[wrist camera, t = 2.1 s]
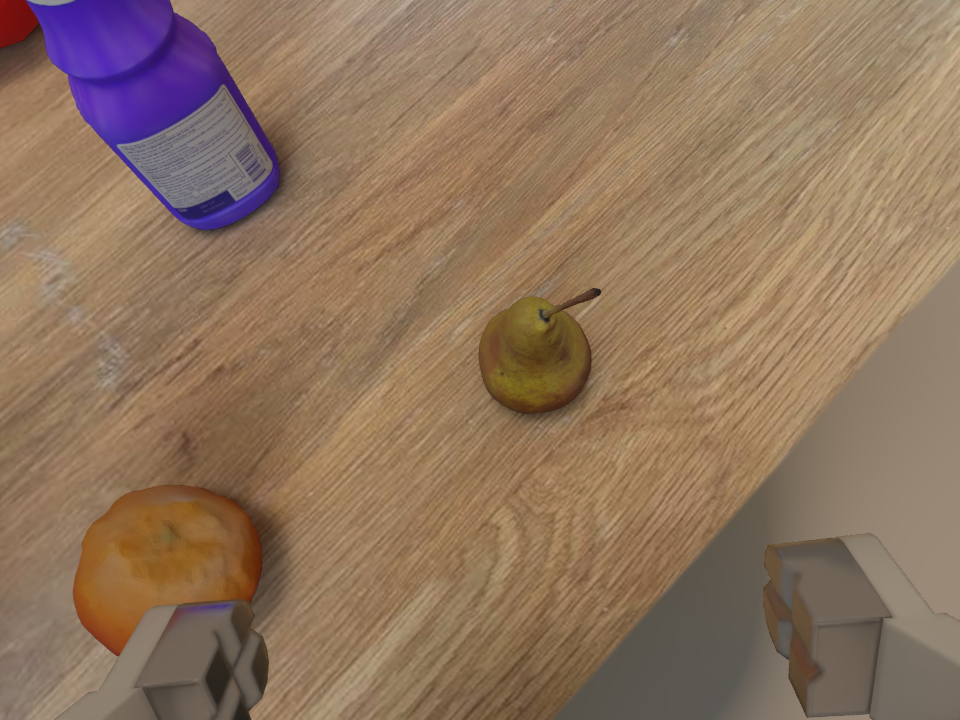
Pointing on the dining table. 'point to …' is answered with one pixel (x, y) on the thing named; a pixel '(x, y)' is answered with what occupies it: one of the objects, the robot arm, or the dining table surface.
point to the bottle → (163, 105)
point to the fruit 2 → (535, 355)
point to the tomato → (15, 21)
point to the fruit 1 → (163, 558)
